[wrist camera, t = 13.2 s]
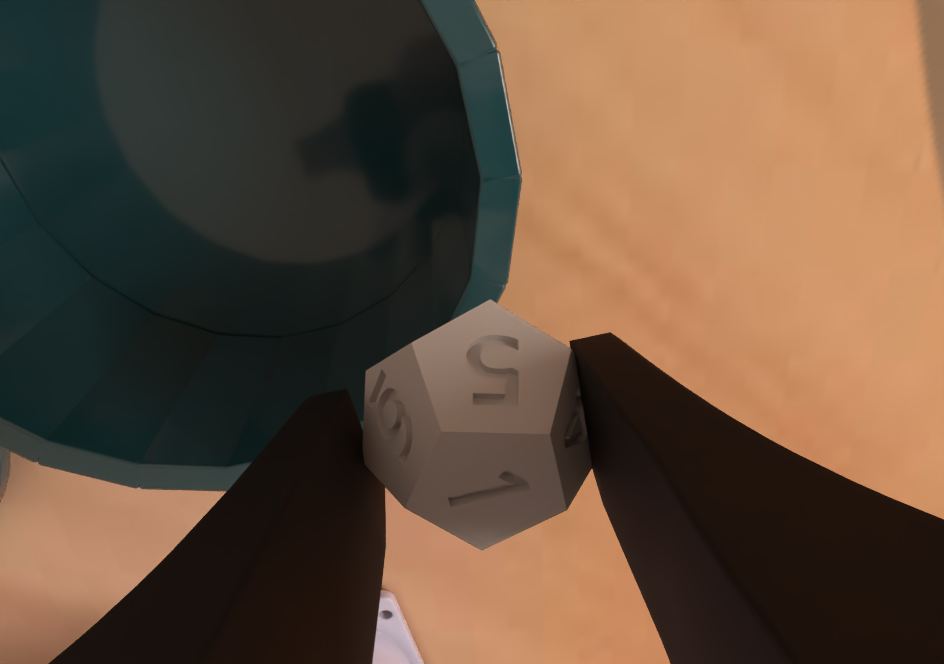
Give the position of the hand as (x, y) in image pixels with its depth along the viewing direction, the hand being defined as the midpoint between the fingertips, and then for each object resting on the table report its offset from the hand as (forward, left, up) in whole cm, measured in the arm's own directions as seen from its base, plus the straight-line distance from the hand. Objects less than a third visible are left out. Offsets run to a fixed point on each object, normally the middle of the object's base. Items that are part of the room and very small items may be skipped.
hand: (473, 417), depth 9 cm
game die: (0, 0, -2) cm, 2 cm away
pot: (+4, +5, -8) cm, 10 cm away
